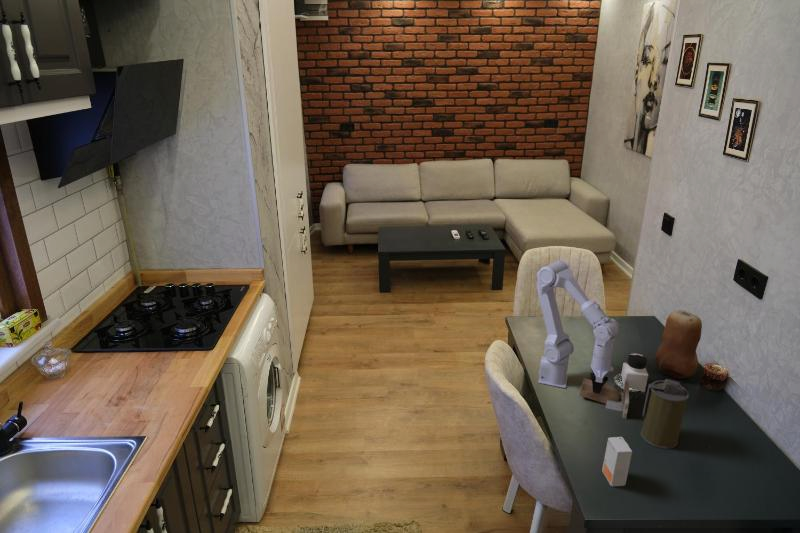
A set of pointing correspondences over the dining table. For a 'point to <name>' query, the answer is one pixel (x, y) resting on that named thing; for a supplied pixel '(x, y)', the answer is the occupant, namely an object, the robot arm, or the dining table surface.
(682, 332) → the butternut squash
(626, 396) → the wall plate
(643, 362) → the medicine bottle
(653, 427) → the canister
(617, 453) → the skincare box
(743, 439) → the dining table surface
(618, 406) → the bracket
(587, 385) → the brown wooden block
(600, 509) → the dining table surface
